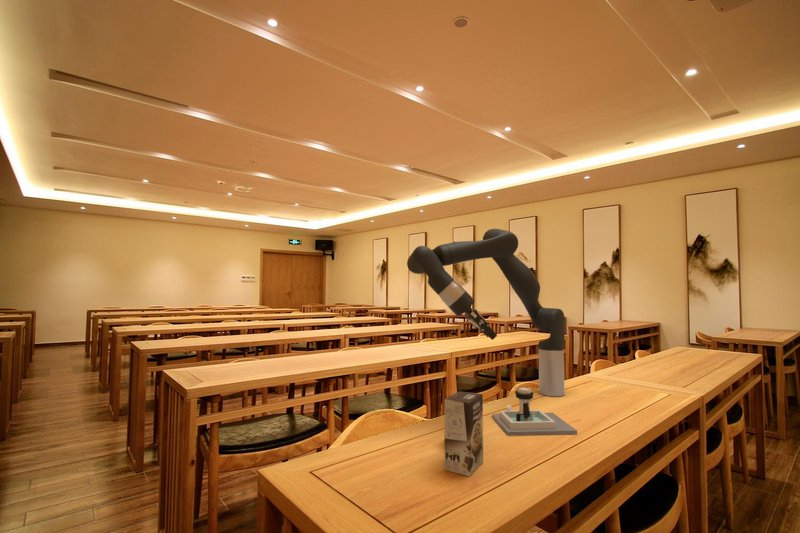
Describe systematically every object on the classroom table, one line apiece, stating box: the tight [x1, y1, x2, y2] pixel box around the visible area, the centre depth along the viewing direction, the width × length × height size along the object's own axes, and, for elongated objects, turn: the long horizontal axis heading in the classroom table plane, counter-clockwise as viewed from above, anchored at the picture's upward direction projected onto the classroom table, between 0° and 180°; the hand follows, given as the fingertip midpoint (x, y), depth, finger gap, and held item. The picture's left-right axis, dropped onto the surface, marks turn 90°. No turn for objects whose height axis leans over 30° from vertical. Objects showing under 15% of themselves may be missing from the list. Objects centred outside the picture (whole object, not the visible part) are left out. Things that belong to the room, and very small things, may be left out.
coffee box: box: [443, 390, 484, 477], centre depth 93 cm, size 9×6×16 cm
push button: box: [514, 387, 535, 422], centre depth 119 cm, size 7×5×10 cm
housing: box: [491, 404, 578, 437], centre depth 120 cm, size 16×20×4 cm
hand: (492, 336), depth 123 cm, fingers open, 8 cm apart
